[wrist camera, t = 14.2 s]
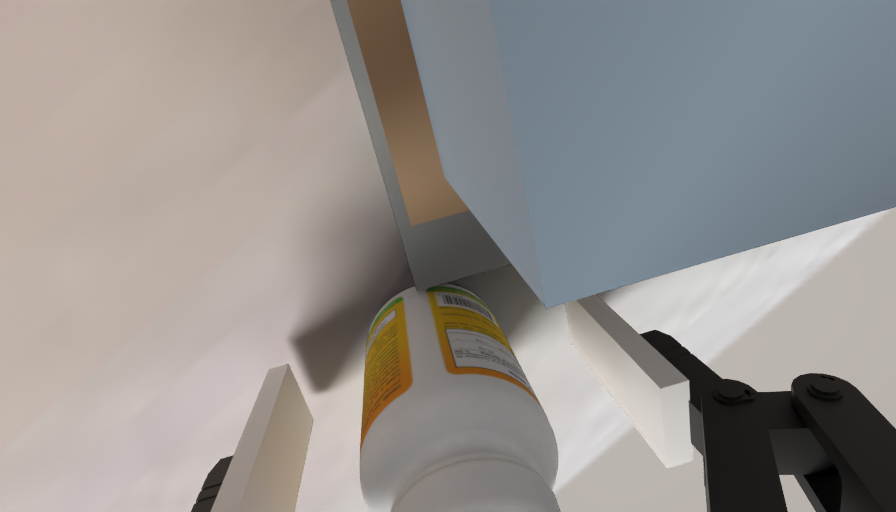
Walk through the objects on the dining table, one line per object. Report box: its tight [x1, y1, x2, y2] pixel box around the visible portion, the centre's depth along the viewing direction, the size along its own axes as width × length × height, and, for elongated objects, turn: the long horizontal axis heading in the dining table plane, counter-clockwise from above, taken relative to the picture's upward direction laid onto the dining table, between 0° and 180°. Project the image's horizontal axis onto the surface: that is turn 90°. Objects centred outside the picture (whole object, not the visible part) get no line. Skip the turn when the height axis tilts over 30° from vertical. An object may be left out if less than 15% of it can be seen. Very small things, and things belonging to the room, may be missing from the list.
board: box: [330, 0, 511, 291], centre depth 14 cm, size 16×10×2 cm, turn 14°
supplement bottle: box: [360, 283, 561, 512], centre depth 14 cm, size 5×5×10 cm
